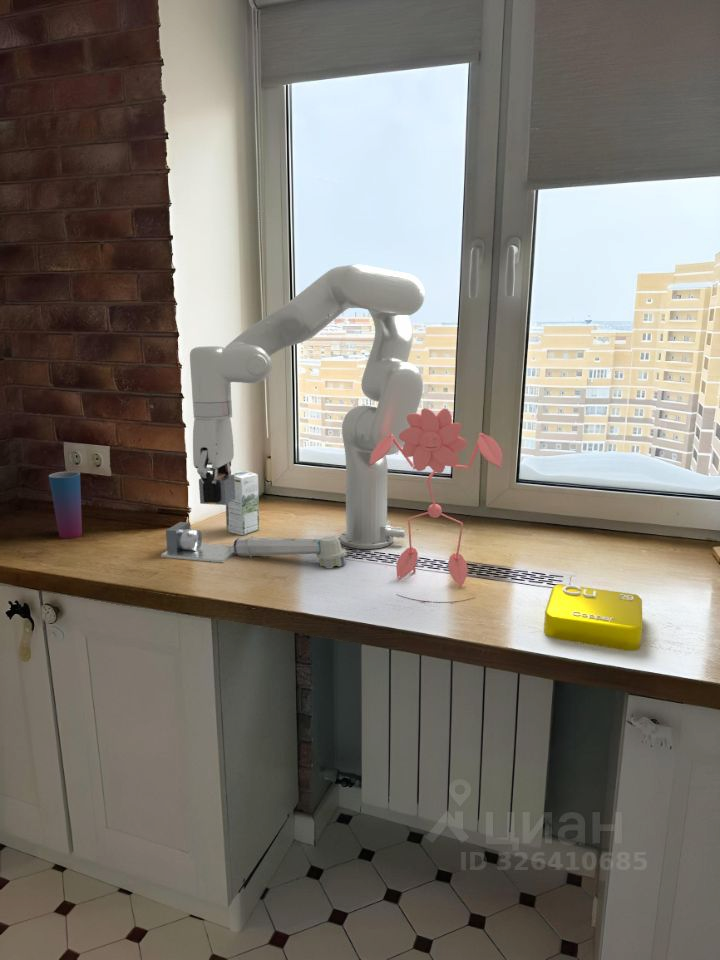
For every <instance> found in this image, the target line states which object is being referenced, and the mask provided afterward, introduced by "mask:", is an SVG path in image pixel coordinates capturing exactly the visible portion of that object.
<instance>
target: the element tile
mask: <svg viewBox="0 0 720 960" xmlns="http://www.w3.org/2000/svg"><path fill="white" fill-rule="evenodd" d="M543 622H544V623H543V634H544V633H545V634H546V635H545V634H544V635H545V636H547V637H548V638H552V639H555V640H562V641H568V642H573V643H578V642H580V643H579V644H584V643H586V644H585V645H590V644H591V645H592V646H596V645H597V646H598V647H603V648H609V649H614V648H615V650H622V651H628V652H629V651H630V652H632V651H633V652H635V651H638V650H640V649H641V643H642V633H643V599H642V598H641V597H640V596H639V595H638V594H635V593H630V592H629V593H628V592H621V591H615V590H606V589H599V588H592V587H591V588H590V587H586V586H585V587H584V586H577V585H573V584H572V585H571V584H563V583H558V584H556V585H554V586H553V587H552V588H551V591H550V594H549V598H548V601H547V604H546V608H545V610H544V621H543ZM597 646H596V647H597Z"/></svg>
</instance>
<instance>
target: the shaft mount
mask: <svg viewBox="0 0 720 960" xmlns="http://www.w3.org/2000/svg"><path fill="white" fill-rule="evenodd" d="M165 537H166V540H165V541H166V551H164V552H162V553H161V554H160V557H161V558H166V559H179V560H189V561H200V562H209V561H211V562H212V563H220V562H221V564H224V563H225V562H226V561H227V560H229V559H230V558H231V557H232V556H234V555H236V554H235V553H234V548H233V545H225V544H223V545H222V544H214V543H203V542H202V541H203V534H202V531H201V530H200V529H191V522H187V521H186V522H185V521H179V522H177V523H176V524H174V525H173V526H170V527H168V528H167V529H165Z"/></svg>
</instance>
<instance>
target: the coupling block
mask: <svg viewBox="0 0 720 960" xmlns="http://www.w3.org/2000/svg"><path fill="white" fill-rule="evenodd" d="M211 475H212V473H211ZM217 483H219V496H220V502H218V503H209V502H204V495H203V483H202V479H201V478H199V479H198V489H199V503H200V504H201V505H202V504H203V505H214V506H216V505H219V506H220V505H223V506H226V505H227V504H228V503H229V502H231V501H232V500H234V499H235V482H234V475H225V474H224V473H218V474H217Z"/></svg>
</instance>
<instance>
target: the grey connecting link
mask: <svg viewBox="0 0 720 960" xmlns="http://www.w3.org/2000/svg"><path fill="white" fill-rule="evenodd" d="M232 546H233V548H234V553H235V554H234V555H236V556H237V555H238V556H239V557H250V558H253V557H258V556H261V557H262V556H264V557H265V556H285V555H286V556H287V555H288V556H289V555H316V558H317V560H318V562H319V565H320V567H325V569H331V568H334V567H335V566H336V567H342V566H344V565H346V563H347V561H346V555H347V550H346V549H345V548H342V543H341V542H340V538H339V537H337V536H326V537H322V538H320V539H319V538H283V537H280V538H278V537H276V538H275V537H254V535H252V536H251V535H250V536H249V537H240V538H239V537H238V538H236V539H235V540H234V543H233V545H232ZM238 556H237V557H238ZM252 556H253V557H252Z"/></svg>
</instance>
